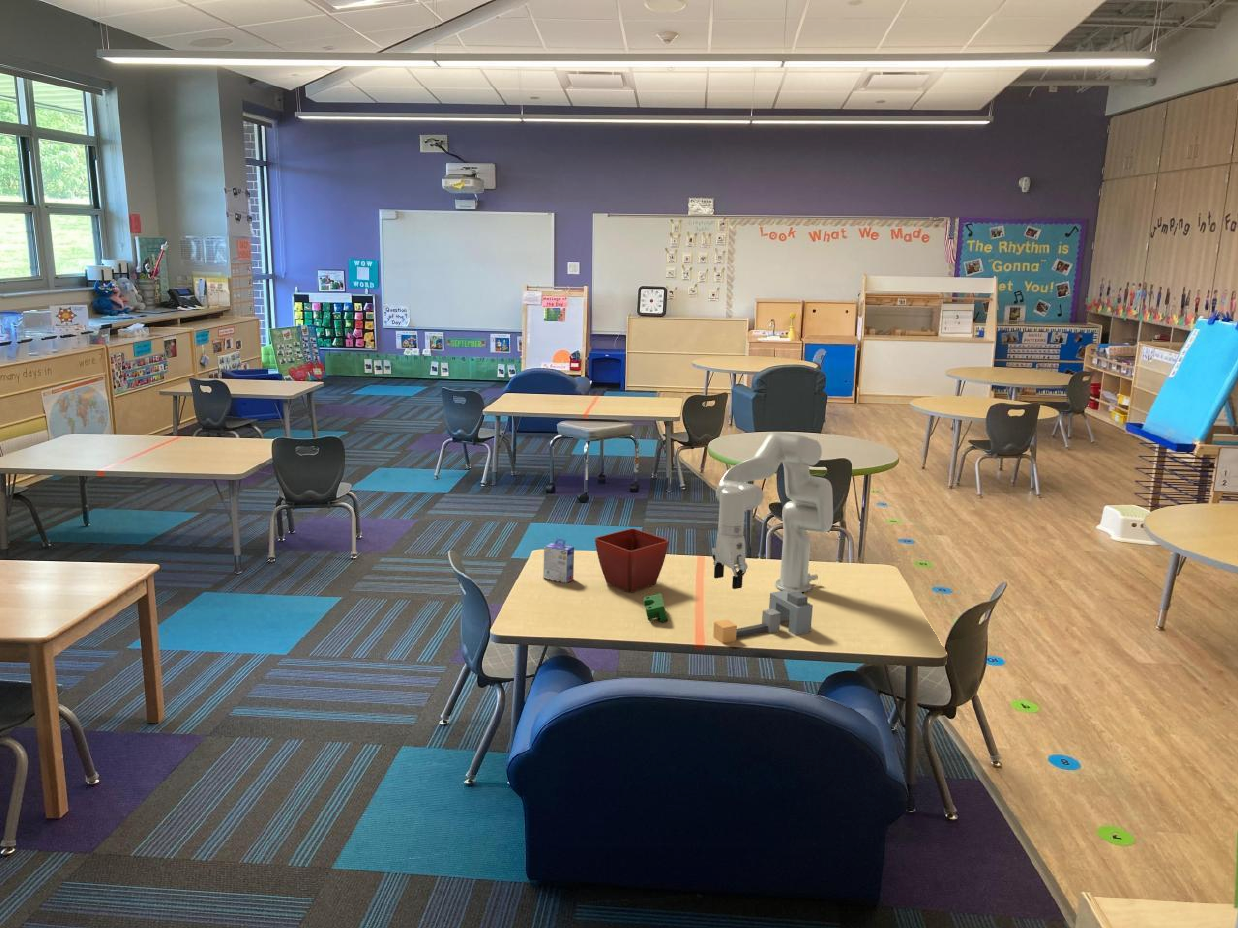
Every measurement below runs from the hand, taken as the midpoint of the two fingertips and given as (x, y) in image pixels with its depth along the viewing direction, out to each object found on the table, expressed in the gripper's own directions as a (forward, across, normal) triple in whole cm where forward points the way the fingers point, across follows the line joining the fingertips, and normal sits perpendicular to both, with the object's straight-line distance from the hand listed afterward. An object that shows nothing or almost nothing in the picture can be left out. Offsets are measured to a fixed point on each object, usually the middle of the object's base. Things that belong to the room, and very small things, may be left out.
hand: (727, 582), depth 282 cm
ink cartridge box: (+18, +68, +25) cm, 75 cm away
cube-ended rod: (+18, 0, -9) cm, 20 cm away
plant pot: (+18, +53, +4) cm, 56 cm away
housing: (+18, 0, -25) cm, 31 cm away
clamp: (+19, +24, +11) cm, 32 cm away
